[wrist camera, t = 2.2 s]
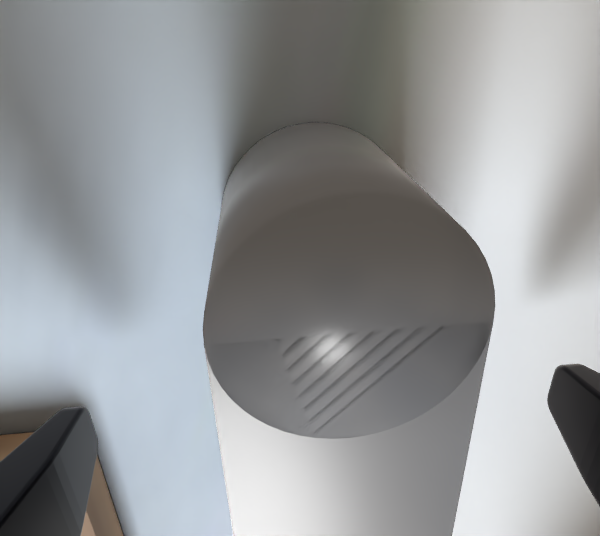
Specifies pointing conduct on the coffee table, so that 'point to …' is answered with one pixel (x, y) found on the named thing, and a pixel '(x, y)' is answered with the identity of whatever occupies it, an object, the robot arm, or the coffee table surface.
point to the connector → (342, 341)
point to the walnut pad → (100, 510)
